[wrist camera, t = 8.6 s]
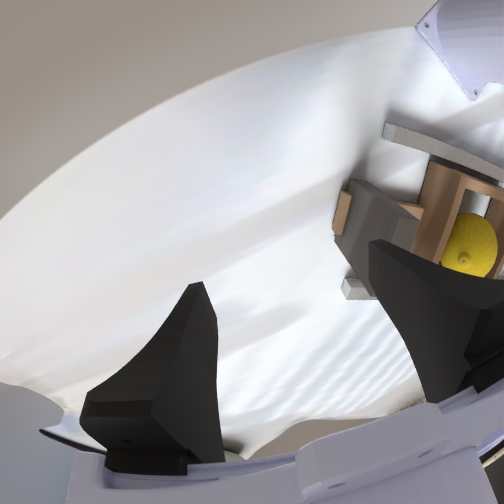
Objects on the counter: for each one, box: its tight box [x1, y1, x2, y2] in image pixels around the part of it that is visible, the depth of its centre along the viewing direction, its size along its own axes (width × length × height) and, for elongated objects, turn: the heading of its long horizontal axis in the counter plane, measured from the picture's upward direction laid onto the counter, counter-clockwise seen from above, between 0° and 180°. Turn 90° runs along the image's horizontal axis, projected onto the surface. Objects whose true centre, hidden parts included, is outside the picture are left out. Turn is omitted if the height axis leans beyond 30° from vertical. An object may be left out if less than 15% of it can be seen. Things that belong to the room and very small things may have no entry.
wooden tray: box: [332, 161, 504, 297], centre depth 19 cm, size 18×11×7 cm, turn 83°
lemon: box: [440, 213, 498, 277], centre depth 20 cm, size 6×6×8 cm
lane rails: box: [341, 123, 504, 300], centre depth 23 cm, size 26×14×2 cm, turn 83°
